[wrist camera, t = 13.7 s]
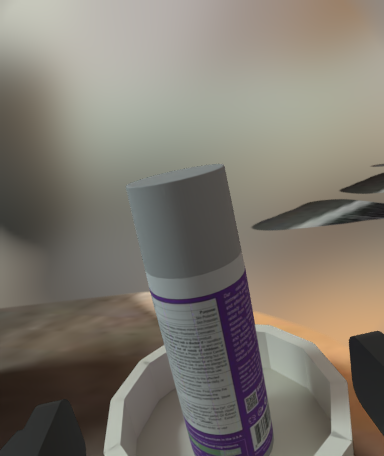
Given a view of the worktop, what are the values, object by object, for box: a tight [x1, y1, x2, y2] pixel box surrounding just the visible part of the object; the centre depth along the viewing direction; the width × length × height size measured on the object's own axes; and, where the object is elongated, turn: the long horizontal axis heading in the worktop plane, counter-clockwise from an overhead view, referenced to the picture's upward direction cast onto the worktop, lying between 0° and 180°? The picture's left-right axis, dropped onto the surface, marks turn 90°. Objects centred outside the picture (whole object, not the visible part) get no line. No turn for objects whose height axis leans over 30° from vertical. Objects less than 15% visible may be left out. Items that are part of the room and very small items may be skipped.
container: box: [126, 164, 274, 456], centre depth 16 cm, size 5×5×15 cm
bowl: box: [103, 325, 354, 456], centre depth 18 cm, size 13×13×4 cm
